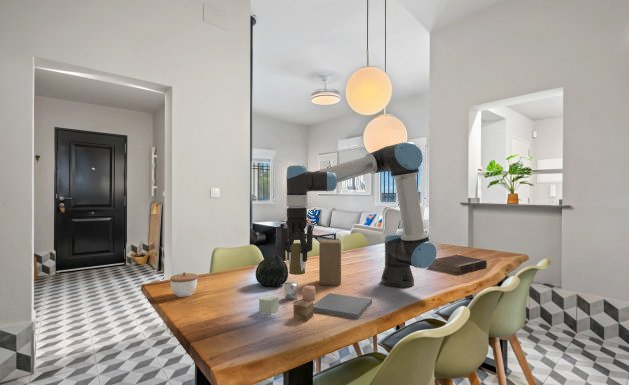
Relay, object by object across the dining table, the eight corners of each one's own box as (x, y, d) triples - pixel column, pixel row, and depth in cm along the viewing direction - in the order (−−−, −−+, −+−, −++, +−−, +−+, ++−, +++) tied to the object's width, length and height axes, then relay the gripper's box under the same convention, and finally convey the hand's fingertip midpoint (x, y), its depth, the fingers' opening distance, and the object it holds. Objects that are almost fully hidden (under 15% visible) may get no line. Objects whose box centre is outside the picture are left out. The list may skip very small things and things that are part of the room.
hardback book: (458, 275, 172) (458, 266, 172) (427, 269, 187) (427, 260, 187) (486, 268, 189) (486, 259, 189) (456, 262, 204) (456, 254, 204)
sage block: (278, 310, 119) (278, 296, 119) (271, 315, 115) (271, 300, 115) (267, 308, 121) (267, 294, 121) (259, 312, 117) (259, 298, 117)
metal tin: (299, 297, 134) (299, 283, 134) (293, 301, 129) (293, 286, 129) (288, 296, 136) (288, 281, 136) (282, 299, 131) (282, 284, 131)
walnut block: (313, 316, 113) (313, 302, 113) (306, 321, 109) (306, 306, 109) (300, 314, 115) (300, 300, 115) (293, 319, 111) (293, 304, 111)
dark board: (372, 303, 127) (372, 299, 127) (357, 318, 111) (357, 314, 111) (329, 296, 135) (329, 293, 135) (310, 310, 119) (310, 306, 119)
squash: (251, 269, 159) (257, 250, 150) (281, 268, 165) (288, 249, 156) (256, 295, 149) (262, 276, 140) (287, 293, 155) (295, 274, 146)
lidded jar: (191, 289, 145) (191, 268, 145) (202, 294, 138) (202, 272, 138) (166, 294, 138) (166, 272, 138) (176, 300, 130) (176, 277, 130)
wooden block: (341, 280, 161) (341, 239, 161) (340, 285, 151) (340, 242, 151) (320, 279, 162) (320, 239, 162) (319, 285, 152) (319, 242, 152)
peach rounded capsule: (317, 298, 132) (317, 286, 132) (311, 302, 128) (311, 289, 128) (306, 297, 135) (306, 284, 135) (300, 300, 130) (300, 288, 130)
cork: (289, 271, 125) (288, 242, 125) (304, 270, 126) (304, 242, 126) (289, 275, 119) (288, 244, 119) (305, 274, 120) (305, 244, 120)
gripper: (321, 207, 122) (322, 269, 122) (282, 206, 129) (282, 265, 129) (313, 207, 115) (313, 274, 115) (271, 207, 123) (272, 269, 123)
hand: (297, 269), depth 122 cm, fingers closed on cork, 4 cm apart
